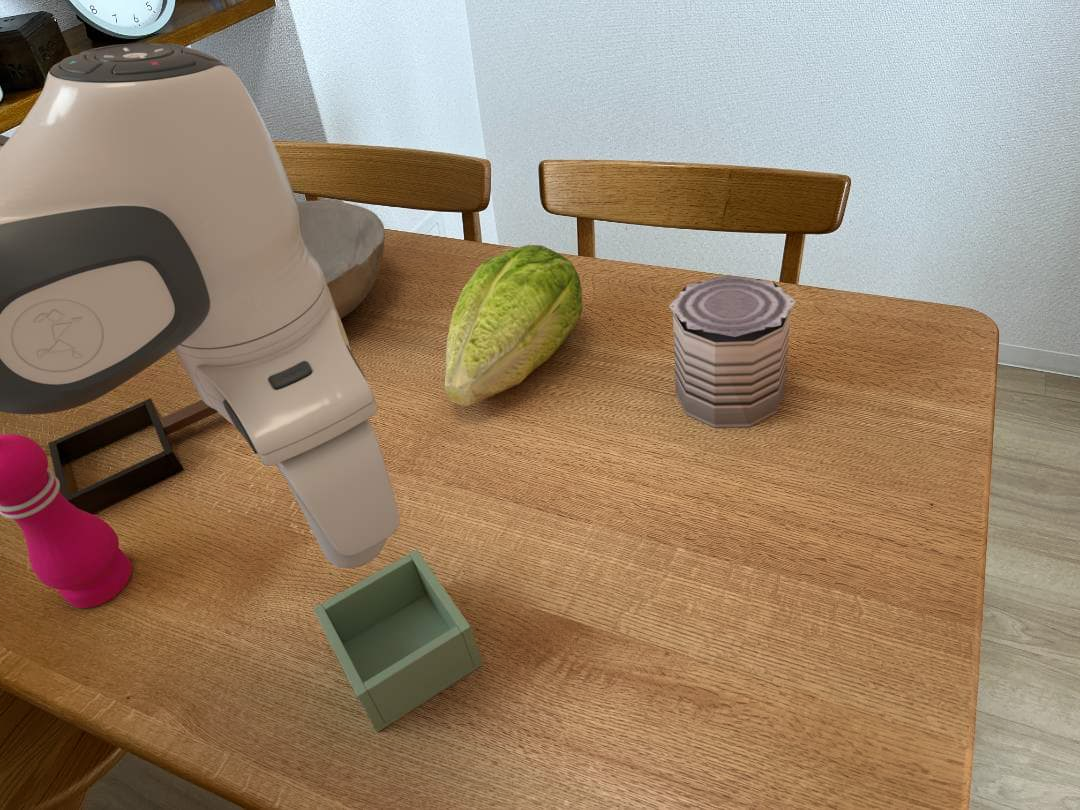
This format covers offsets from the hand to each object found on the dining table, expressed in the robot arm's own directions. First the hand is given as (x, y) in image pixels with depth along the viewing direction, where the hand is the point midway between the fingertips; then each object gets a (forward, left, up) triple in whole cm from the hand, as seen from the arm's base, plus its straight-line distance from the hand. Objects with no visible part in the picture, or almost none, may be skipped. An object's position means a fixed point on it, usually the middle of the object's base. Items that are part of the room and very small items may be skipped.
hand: (337, 503), depth 55 cm
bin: (0, 0, -19) cm, 19 cm away
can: (+42, +7, -19) cm, 47 cm away
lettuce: (+27, +27, -19) cm, 43 cm away
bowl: (+11, +58, -19) cm, 62 cm away
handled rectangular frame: (-12, +42, -19) cm, 48 cm away
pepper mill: (-21, +26, -19) cm, 38 cm away
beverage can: (0, 0, -5) cm, 5 cm away
